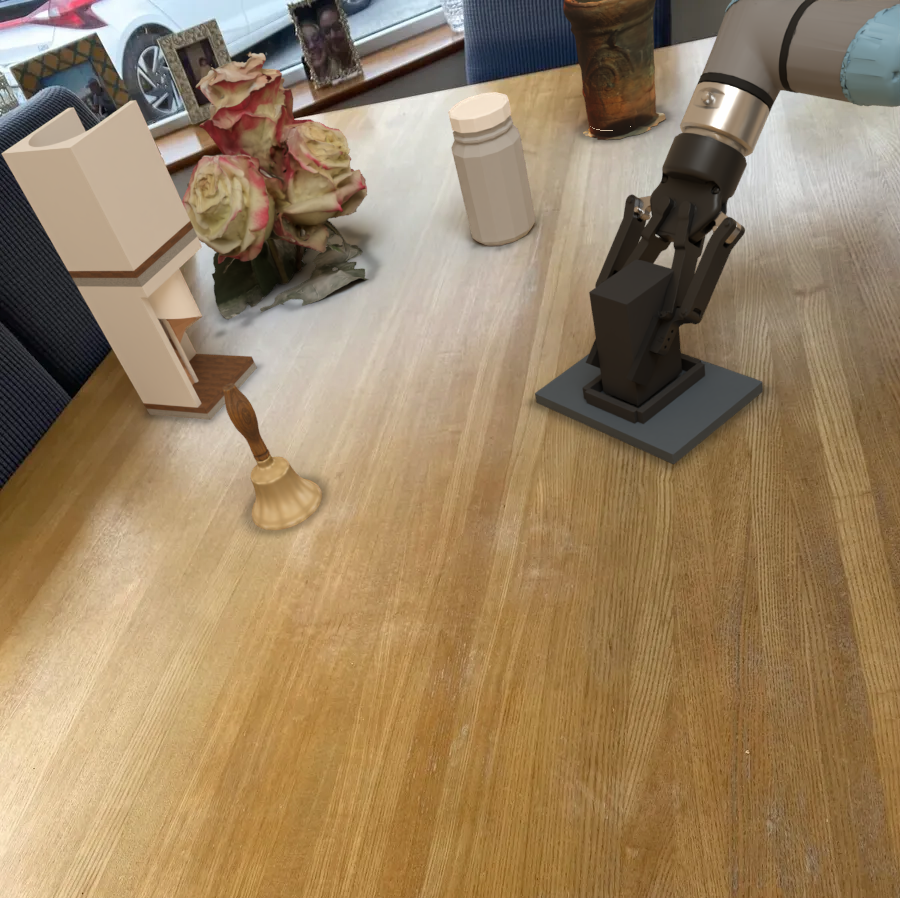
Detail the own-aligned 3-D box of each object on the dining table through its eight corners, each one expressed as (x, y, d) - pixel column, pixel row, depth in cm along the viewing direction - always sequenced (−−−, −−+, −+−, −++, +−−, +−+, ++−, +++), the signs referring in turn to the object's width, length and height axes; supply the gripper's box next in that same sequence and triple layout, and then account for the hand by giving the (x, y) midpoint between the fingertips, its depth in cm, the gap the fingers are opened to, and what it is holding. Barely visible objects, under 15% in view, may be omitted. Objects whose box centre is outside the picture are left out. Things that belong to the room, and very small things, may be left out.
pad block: (682, 372, 101) (675, 269, 92) (638, 406, 99) (626, 304, 90) (646, 359, 104) (636, 258, 96) (603, 391, 102) (588, 291, 93)
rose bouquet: (215, 339, 137) (115, 128, 116) (240, 248, 157) (159, 54, 136) (385, 298, 133) (313, 71, 112) (388, 210, 153) (328, 5, 132)
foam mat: (763, 393, 99) (762, 369, 96) (673, 466, 94) (671, 442, 92) (621, 342, 111) (618, 319, 109) (536, 404, 107) (532, 382, 105)
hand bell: (240, 530, 104) (176, 413, 93) (270, 481, 109) (213, 364, 98) (305, 532, 101) (247, 411, 90) (333, 481, 106) (282, 361, 95)
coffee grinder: (211, 421, 122) (70, 147, 97) (150, 415, 126) (1, 153, 102) (257, 369, 128) (136, 100, 103) (197, 366, 133) (68, 107, 108)
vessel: (658, 95, 159) (647, -41, 145) (677, 125, 149) (668, -18, 135) (574, 119, 161) (555, -14, 147) (587, 150, 151) (569, 11, 137)
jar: (467, 254, 136) (436, 126, 124) (477, 221, 143) (449, 97, 130) (533, 244, 133) (508, 112, 121) (540, 211, 140) (518, 83, 127)
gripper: (622, 117, 94) (533, 341, 101) (774, 142, 83) (663, 393, 89) (661, 147, 100) (575, 358, 106) (809, 175, 88) (702, 409, 95)
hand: (615, 374), depth 98 cm, fingers closed on pad block, 5 cm apart
